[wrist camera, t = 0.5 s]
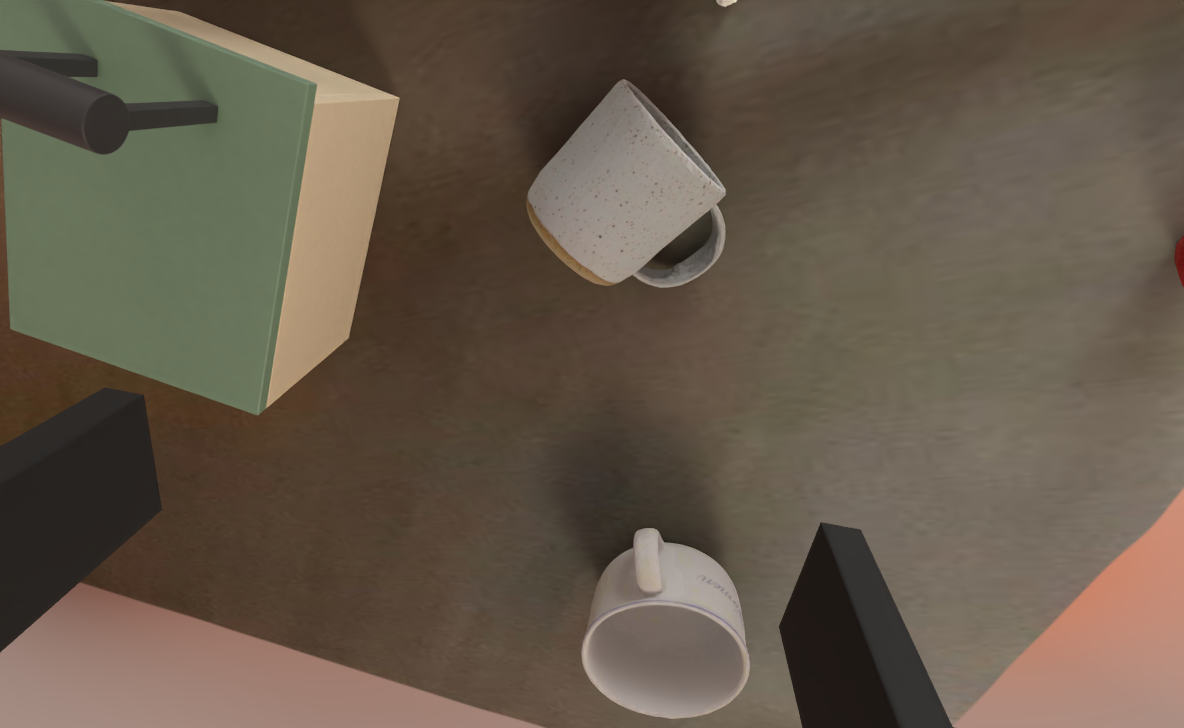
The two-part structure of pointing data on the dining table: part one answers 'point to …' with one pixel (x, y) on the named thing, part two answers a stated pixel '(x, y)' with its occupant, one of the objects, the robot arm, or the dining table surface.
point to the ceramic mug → (626, 195)
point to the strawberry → (1180, 259)
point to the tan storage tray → (319, 200)
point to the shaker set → (725, 2)
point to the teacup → (666, 631)
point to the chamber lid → (148, 194)
